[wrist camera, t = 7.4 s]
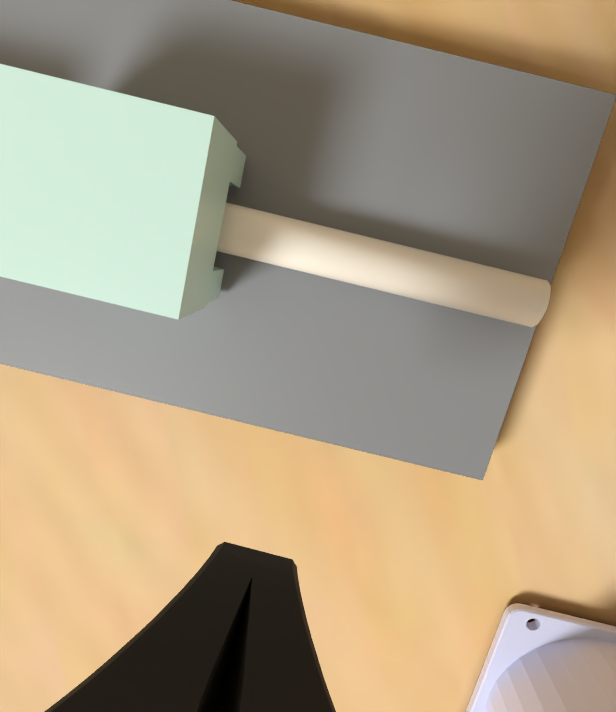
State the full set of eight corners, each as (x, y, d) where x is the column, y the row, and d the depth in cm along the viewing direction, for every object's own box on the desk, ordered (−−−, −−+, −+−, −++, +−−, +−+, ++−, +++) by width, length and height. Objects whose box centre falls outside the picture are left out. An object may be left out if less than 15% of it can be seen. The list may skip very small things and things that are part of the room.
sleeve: (246, 152, 14) (214, 115, 10) (218, 301, 15) (178, 319, 11) (78, 111, 14) (-20, 58, 10) (59, 263, 15) (-36, 267, 11)
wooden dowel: (534, 264, 15) (568, 267, 13) (511, 333, 15) (540, 347, 13) (-68, 118, 15) (-135, 96, 13) (-72, 192, 15) (-138, 182, 13)
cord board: (589, 109, 15) (616, 94, 13) (470, 460, 18) (482, 480, 16) (-46, -46, 15) (-87, -78, 13) (-69, 330, 17) (-105, 338, 16)
